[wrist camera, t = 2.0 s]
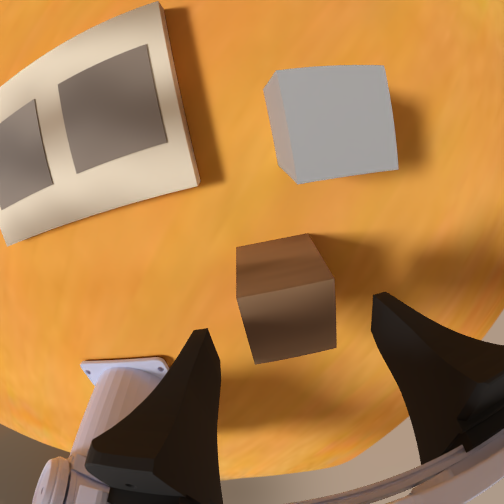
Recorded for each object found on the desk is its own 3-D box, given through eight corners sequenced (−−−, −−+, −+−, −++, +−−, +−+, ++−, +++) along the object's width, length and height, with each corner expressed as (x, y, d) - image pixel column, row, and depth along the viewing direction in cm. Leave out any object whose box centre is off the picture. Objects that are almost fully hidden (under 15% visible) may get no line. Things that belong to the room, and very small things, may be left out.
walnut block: (314, 292, 17) (336, 347, 13) (250, 305, 18) (255, 364, 13) (307, 233, 16) (334, 278, 11) (236, 247, 16) (236, 298, 11)
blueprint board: (200, 181, 14) (197, 186, 13) (16, 239, 15) (6, 246, 14) (163, 9, 10) (157, 0, 9) (-15, 109, 11) (-27, 111, 9)
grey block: (351, 153, 14) (398, 169, 9) (278, 165, 14) (297, 184, 10) (339, 81, 12) (384, 65, 8) (263, 89, 12) (276, 70, 8)
